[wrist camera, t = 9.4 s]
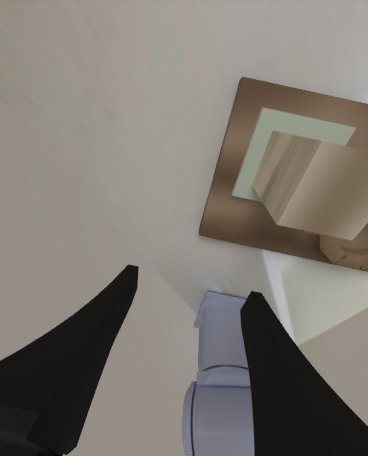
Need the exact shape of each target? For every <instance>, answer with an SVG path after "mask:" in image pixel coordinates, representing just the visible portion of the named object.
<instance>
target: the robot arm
mask: <svg viewBox="0 0 368 456" xmlns="http://www.w3.org/2000/svg"><path fill="white" fill-rule="evenodd" d="M137 283H138V266H133V265H128V266H126V268H125V269H124V270H123V271H122V272H121V273H120V274H119V275H118V276H117V277H116V278H115V279H114V280H113V281H112V282H111V283H110V284H109V285H108V286H107V287H106V288H105V289H104V290H102V291H101V292H100V293H99V294H98V295H97V296H96V297H95V298H93V299H92V300H91V301H90V302H89V303H87V304H86V305H85V306H84V307H83V308H81V309H80V310H79V311H78V312H76V313H75V314H73V315H72V316H71V317H69V318H68V319H67V320H65V321H64V322H62V323H61V324H59V325H58V326H56V327H55V328H54V329H52V330H51V331H49V332H48V333H46V334H44V335H43V336H41V337H40V338H38V339H36V340H35V341H33V342H32V343H30V344H28V345H27V346H25V347H24V348H22V349H20V350H19V351H17V352H15V353H13V354H12V355H10V356H8V357H6V358H4V359H3V360H1V361H0V456H63V454H65V455H67V454H68V453H70V452H71V451H72V450H73V449H74V448H75V447H76V446H77V444H78V440H79V437H80V434H81V432H82V429H83V425H84V423H85V420H86V417H87V414H88V411H89V408H90V405H91V402H92V399H93V397H94V394H95V390H96V388H97V385H98V382H99V380H100V377H101V374H102V372H103V369H104V366H105V363H106V361H107V358H108V355H109V352H110V350H111V347H112V345H113V343H114V341H115V338H116V336H117V334H118V332H119V330H120V328H121V325H122V323H123V321H124V319H125V317H126V315H127V313H128V311H129V308H130V306H131V304H132V301H133V299H134V296H135V293H136V290H137ZM194 327H196V328H199V356H198V368H199V372H197V381H195V382H192V383H191V385H190V387H189V388H188V390H187V392H186V395H185V400H184V405H183V416H182V437H183V446H184V452H185V456H368V426H367V425H366V424H365V423H364V422H363V421H362V420H361V419H360V418H359V417H358V416H357V415H356V414H355V413H354V412H353V411H352V410H351V409H350V408H349V407H348V406H347V405H346V403H344V401H343V400H342V399H341V398H340V397H339V396H338V395H337V394H336V393H335V391H334V390H333V389H332V388H331V387H330V386H329V385H328V384H327V383H326V381H325V380H324V379H323V378H322V377H321V376H320V374H318V372H317V371H316V370H315V368H314V367H313V366H312V365H311V364H310V362H309V361H308V360H307V359H306V357H305V356H304V355H303V354H302V352H301V351H300V350H299V348H298V347H297V345H296V344H295V343H294V341H293V340H292V339H291V337H290V336H289V334H288V333H287V332H286V330H285V329H284V327H283V326H282V324H281V323H280V321H279V320H278V318H277V317H276V315H275V314H274V312H273V311H272V309H271V307H270V306H269V304H268V303H267V301H266V300H265V298H264V296H263V295H262V293H259V292H254V291H251V293H250V295H249V296H248V298H247V299H242V298H238V297H233V296H228V295H224V294H219V293H214V292H207V293H206V295H205V297H204V300H203V302H202V305H201V307H200V310H199V313H198V315H197V318H196V320H195V323H194Z"/></svg>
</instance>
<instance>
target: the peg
mask: <svg viewBox="0 0 368 456" xmlns="http://www.w3.org/2000/svg"><path fill="white" fill-rule="evenodd" d="M252 187H253V188H254V190H255V191H256V193H257V195H258V196H259V198H260V199H261V201H262V202H263V204H264V205H265V207H266V209H267V210H268V212H269V213H270V215H271V216H272V218H273V220H274V221H275V223H276V224H277V225H280V226H285V227H290V228H295V229H299V230H302V231H303V232H306V233H311V234H316V235H320V236H324V235H328V236H333V237H338V238H342V239H347V240H353V239H354V238H355V237H356V236H357V235H358V233H359V232H360V231H361V230H362V229H363V228H364V226H365V225H366V224H367V223H368V150H363V149H359V148H354V147H349V146H344V145H340V144H335V143H330V142H325V141H321V140H316V139H311V138H306V137H302V136H297V135H292V134H287V133H282V132H278V131H273V132H272V134H271V137H270V139H269V142H268V144H267V147H266V149H265V152H264V155H263V157H262V160H261V162H260V165H259V167H258V170H257V172H256V175H255V177H254V180H253V183H252Z"/></svg>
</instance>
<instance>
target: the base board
mask: <svg viewBox="0 0 368 456" xmlns="http://www.w3.org/2000/svg"><path fill="white" fill-rule="evenodd" d="M261 108H268V109H272V110H277V111H282V112H286V113H291V114H295V115H300V116H305V117H309V118H314V119H318V120H323V121H328V122H332V123H337V124H341V125H346V126H351V127H355V128H356V129H355V131H354V133H353V134H352V136H351V137H350V139H349V141H348V142H347V144H346V146H349V147H354V148H359V149H363V150H368V104H366V103H361V102H356V101H352V100H347V99H343V98H338V97H333V96H329V95H324V94H320V93H315V92H310V91H306V90H301V89H297V88H292V87H288V86H283V85H278V84H274V83H269V82H265V81H260V80H255V79H251V78H246V77H242V78H241V79H240V81H239V85H238V89H237V92H236V96H235V100H234V103H233V107H232V111H231V114H230V118H229V122H228V125H227V129H226V133H225V136H224V140H223V144H222V147H221V151H220V155H219V158H218V162H217V166H216V169H215V173H214V176H213V180H212V184H211V187H210V191H209V195H208V198H207V202H206V206H205V209H204V213H203V217H202V220H201V224H200V228H199V235H200V236H205V237H209V238H214V239H219V240H223V241H228V242H233V243H237V244H242V245H247V246H251V247H256V248H260V249H265V250H270V251H274V252H279V253H284V254H288V255H293V256H298V257H302V258H307V259H311V260H316V261H321V262H325V263H330V264H335V265H339V266H344V267H348V268H353V269H358V270H362V271H367V272H368V223H367V224H366V225H365V226H364V228H363V229H362V230H361V231H360V232H359V233H358V235H357V236H356V237H355V238H354V239H353V240H347V239H342V238H338V237H333V236H328V235H324V236H320V235H316V234H311V233H306V232H303V231H302V230H299V229H295V228H290V227H285V226H280V225H277V224H276V223H275V221H274V220H273V218H272V216H271V215H270V213H269V212H268V210H267V209H266V207H265V205H264V204H263V202H259V201H254V200H250V199H245V198H240V197H236V196H232V191H233V188H234V185H235V182H236V179H237V177H238V174H239V171H240V168H241V165H242V162H243V159H244V156H245V154H246V151H247V148H248V145H249V142H250V139H251V136H252V133H253V130H254V128H255V125H256V122H257V119H258V116H259V113H260V110H261Z"/></svg>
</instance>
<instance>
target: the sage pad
mask: <svg viewBox="0 0 368 456" xmlns="http://www.w3.org/2000/svg"><path fill="white" fill-rule="evenodd" d="M355 129H356V128H355V127H351V126H346V125H341V124H337V123H332V122H328V121H323V120H318V119H314V118H309V117H305V116H300V115H295V114H291V113H286V112H282V111H277V110H272V109H268V108H261V110H260V113H259V116H258V119H257V122H256V125H255V128H254V130H253V133H252V136H251V139H250V142H249V145H248V148H247V151H246V154H245V156H244V159H243V162H242V165H241V168H240V171H239V174H238V177H237V179H236V182H235V185H234V188H233V191H232V196H236V197H240V198H245V199H250V200H254V201H259V202H262V201H261V199H260V198H259V196H258V195H257V193H256V191H255V190H254V188H253V187H252V183H253V180H254V177H255V175H256V172H257V170H258V167H259V165H260V162H261V160H262V157H263V155H264V152H265V149H266V147H267V144H268V142H269V139H270V137H271V134H272V132H273V131H278V132H282V133H287V134H292V135H297V136H302V137H306V138H311V139H316V140H321V141H325V142H330V143H335V144H340V145H344V146H346V144H347V142H348V141H349V139H350V137H351V136H352V134H353V133H354V131H355Z"/></svg>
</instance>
